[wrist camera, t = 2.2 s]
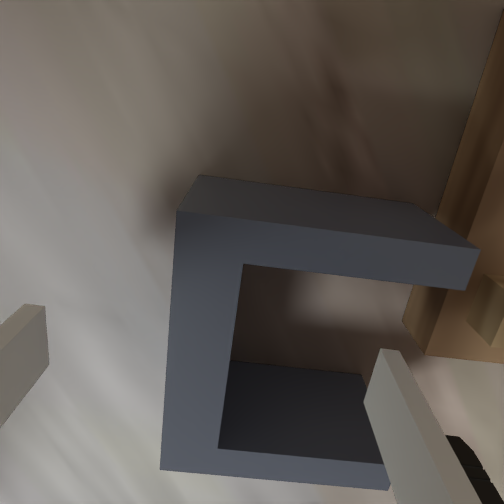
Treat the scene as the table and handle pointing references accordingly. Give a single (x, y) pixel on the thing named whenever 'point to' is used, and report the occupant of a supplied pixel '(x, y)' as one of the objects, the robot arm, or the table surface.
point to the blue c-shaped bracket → (270, 376)
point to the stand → (472, 234)
